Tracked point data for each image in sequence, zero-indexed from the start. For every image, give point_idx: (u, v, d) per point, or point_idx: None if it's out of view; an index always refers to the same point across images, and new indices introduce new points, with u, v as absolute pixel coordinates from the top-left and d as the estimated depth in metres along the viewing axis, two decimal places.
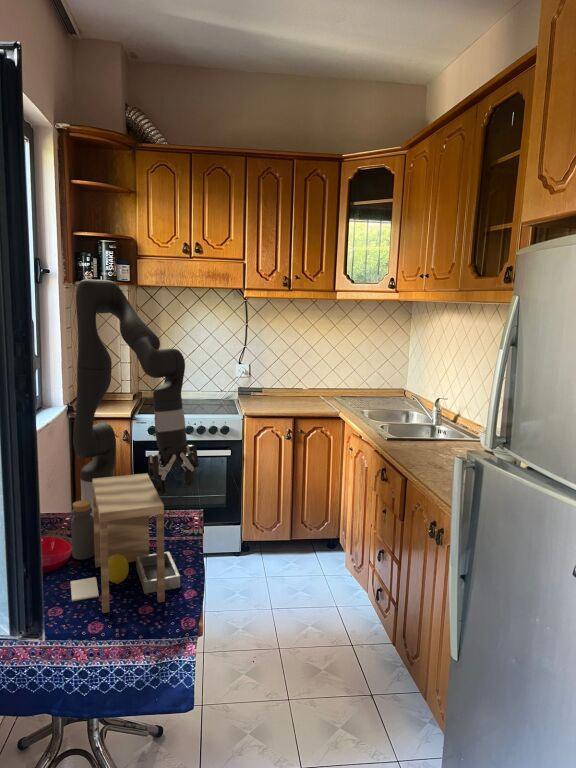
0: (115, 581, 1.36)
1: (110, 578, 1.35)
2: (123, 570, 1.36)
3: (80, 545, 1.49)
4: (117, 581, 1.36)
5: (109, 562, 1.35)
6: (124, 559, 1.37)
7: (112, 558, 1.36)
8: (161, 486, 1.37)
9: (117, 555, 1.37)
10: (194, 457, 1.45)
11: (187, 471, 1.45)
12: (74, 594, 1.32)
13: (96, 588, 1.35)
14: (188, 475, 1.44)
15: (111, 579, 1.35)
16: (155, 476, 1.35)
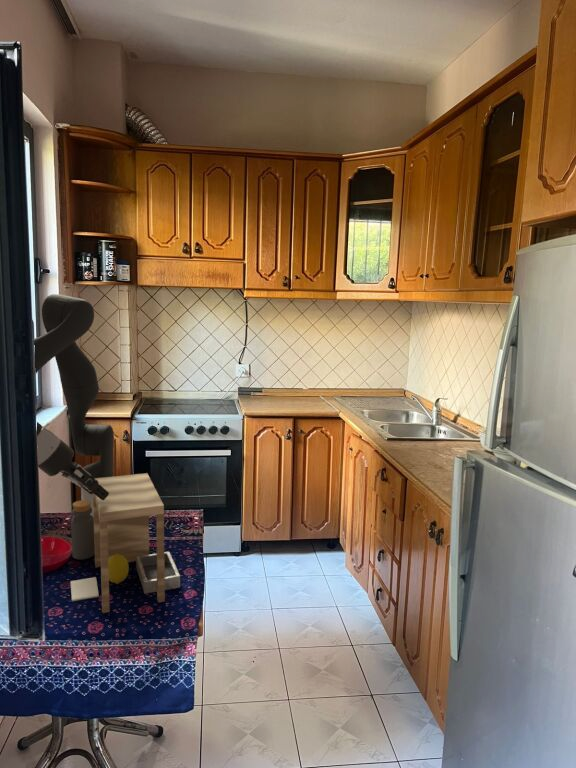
0: (115, 581, 1.36)
1: (110, 578, 1.35)
2: (123, 570, 1.36)
3: (80, 545, 1.49)
4: (117, 581, 1.36)
5: (109, 562, 1.36)
6: (124, 559, 1.37)
7: (112, 558, 1.36)
8: None
9: (117, 555, 1.37)
10: None
11: None
12: (74, 594, 1.32)
13: (96, 588, 1.35)
14: None
15: (111, 579, 1.35)
16: None
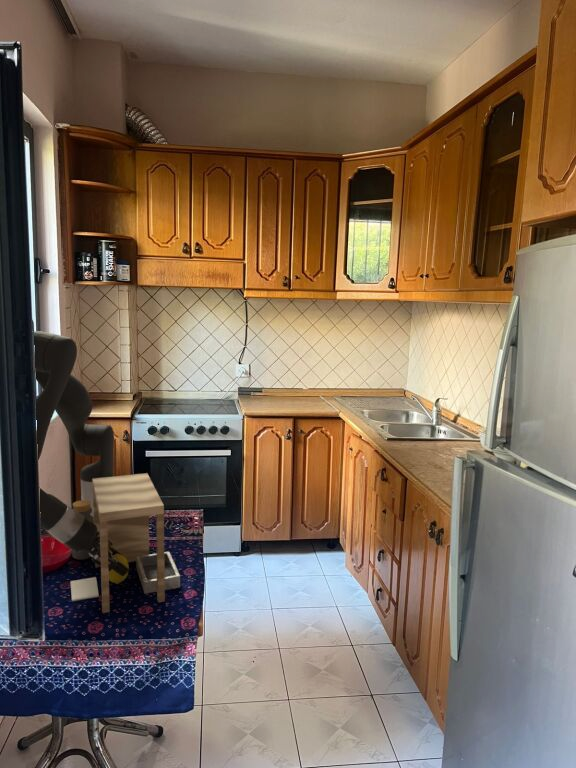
0: (115, 581, 1.36)
1: (110, 578, 1.35)
2: None
3: None
4: (117, 581, 1.36)
5: (109, 562, 1.35)
6: (124, 559, 1.37)
7: None
8: None
9: (117, 555, 1.37)
10: None
11: None
12: (74, 594, 1.32)
13: (96, 588, 1.35)
14: None
15: (111, 579, 1.35)
16: None
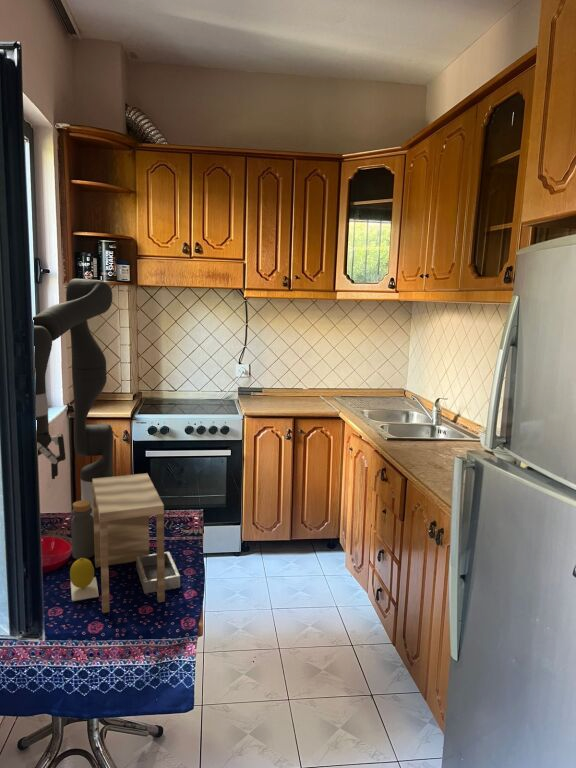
0: (80, 586, 1.32)
1: (74, 583, 1.32)
2: (88, 575, 1.32)
3: (80, 545, 1.49)
4: (82, 586, 1.32)
5: (73, 566, 1.32)
6: (89, 563, 1.33)
7: (76, 562, 1.33)
8: None
9: (82, 559, 1.33)
10: (59, 449, 1.29)
11: (51, 462, 1.30)
12: (74, 594, 1.32)
13: (96, 588, 1.35)
14: (51, 467, 1.30)
15: (75, 584, 1.32)
16: None
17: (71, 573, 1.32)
